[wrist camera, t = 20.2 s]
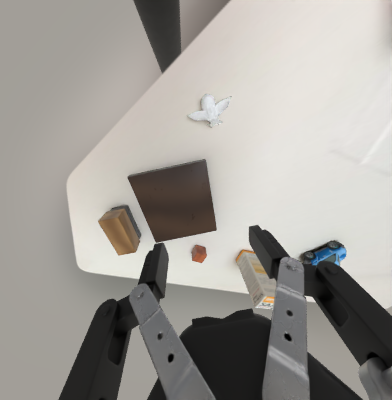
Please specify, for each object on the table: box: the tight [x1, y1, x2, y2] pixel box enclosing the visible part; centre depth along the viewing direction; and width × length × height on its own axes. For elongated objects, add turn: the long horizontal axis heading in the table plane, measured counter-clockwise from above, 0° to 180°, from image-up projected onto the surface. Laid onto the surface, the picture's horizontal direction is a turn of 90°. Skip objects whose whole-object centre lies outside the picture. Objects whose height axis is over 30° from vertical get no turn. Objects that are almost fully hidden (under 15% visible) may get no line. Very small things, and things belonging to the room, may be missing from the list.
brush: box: [98, 205, 141, 255], centre depth 32 cm, size 4×10×6 cm, turn 10°
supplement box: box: [236, 250, 277, 309], centre depth 37 cm, size 8×5×13 cm, turn 70°
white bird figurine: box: [188, 94, 232, 128], centre depth 23 cm, size 8×5×5 cm, turn 111°
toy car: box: [303, 242, 346, 266], centre depth 42 cm, size 6×12×6 cm, turn 123°
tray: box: [128, 159, 217, 243], centre depth 32 cm, size 18×16×1 cm
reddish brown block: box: [192, 245, 207, 263], centre depth 39 cm, size 3×3×3 cm
